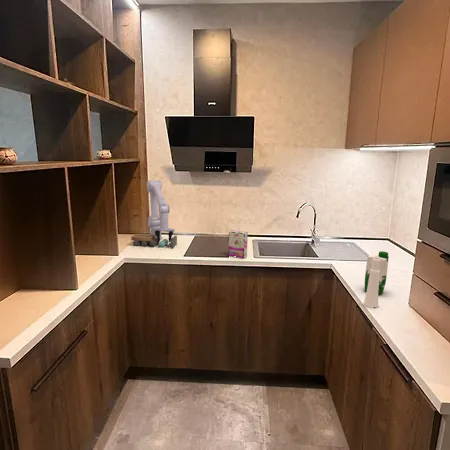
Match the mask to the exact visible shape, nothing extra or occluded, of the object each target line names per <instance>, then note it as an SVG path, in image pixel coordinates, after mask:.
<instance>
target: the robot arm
mask: <svg viewBox="0 0 450 450" xmlns="http://www.w3.org/2000/svg"><path fill="white" fill-rule="evenodd" d="M162 187H163V182H162V180H147V181H146V191H147V193H149V199H150V213H151V214H150V216H148V217H147V226H148V228H149V230H150V233H149V234H153V235H156V238H157V239H158V242H159V241H160V242H161V241H162V240H163V236H162V232H166V233H167V234H168V243H170V239H171V238H172V237H173V236H174V235H173V234H174V233H175V232H176V228H169V213H170V206H169V204H168V203H167V201H166V199H165V197H164V196H163V193H162ZM160 242H159V243H160Z"/></svg>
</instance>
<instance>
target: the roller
mask: <svg viewBox="0 0 450 450" xmlns="http://www.w3.org/2000/svg"><path fill="white" fill-rule="evenodd" d="M168 244H169V239H167V238H164V239H161V240H160V242H159V243H158V246H159V247H158V248H161V249H163V248H164V247H166V246H167V245H168Z"/></svg>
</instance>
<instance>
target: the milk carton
mask: <svg viewBox="0 0 450 450" xmlns="http://www.w3.org/2000/svg"><path fill="white" fill-rule="evenodd" d="M374 256H378V257H380V258H379V259H380V264H379V270H380V275H379V289H378V296H380V295H381V296H382V294H383V293H384V290H385V286H386V282H387V275H388V267H389V252H388V251H381V250H380V251H378V253H375V252H371V253H370V254H369V255H368V256H367V260H366V265H365V266H366V267H365V275H364V292H365V293H366V292H367V287H368V281H369V275H370V270H371V269H372V262H373V258H374Z"/></svg>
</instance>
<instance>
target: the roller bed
mask: <svg viewBox="0 0 450 450" xmlns="http://www.w3.org/2000/svg"><path fill="white" fill-rule="evenodd" d="M132 241H133V242H132V245H133V246H134V247H137V246H139V245H140V246H141V247H147V246H148V245H149V247H150V248H154V247H155V246H157V248H160V247H159V243H160V242H161V240H160V241H159V242H158V239H157V238H155V239H154V240H152V241H134V240H132ZM169 247H170V242H168V244H166V245H165V249H167V248H169Z"/></svg>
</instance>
